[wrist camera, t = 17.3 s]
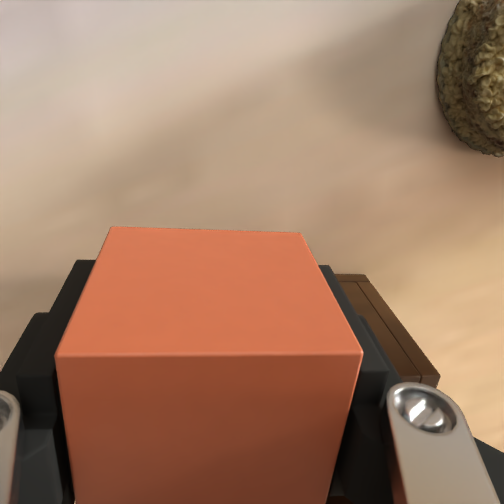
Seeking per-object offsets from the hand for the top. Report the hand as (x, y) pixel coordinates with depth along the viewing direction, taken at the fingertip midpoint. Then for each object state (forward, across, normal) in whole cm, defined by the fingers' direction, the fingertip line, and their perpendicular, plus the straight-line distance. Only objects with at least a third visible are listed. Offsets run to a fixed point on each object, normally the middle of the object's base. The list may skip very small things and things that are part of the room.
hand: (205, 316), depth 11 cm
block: (0, 0, 0) cm, 0 cm away
